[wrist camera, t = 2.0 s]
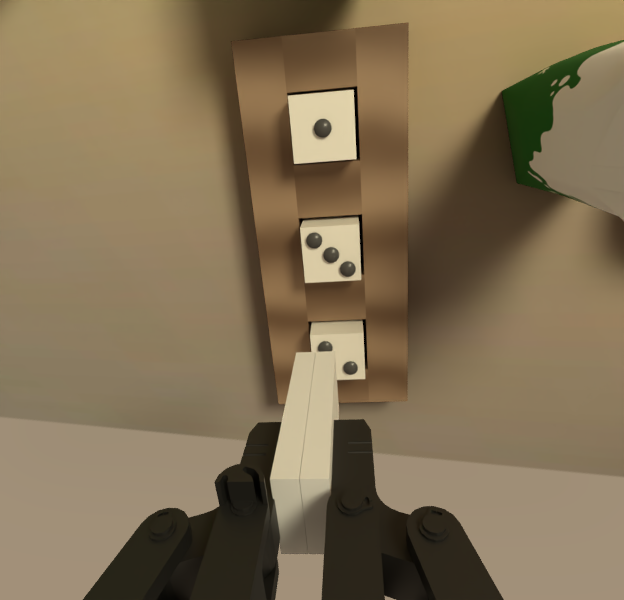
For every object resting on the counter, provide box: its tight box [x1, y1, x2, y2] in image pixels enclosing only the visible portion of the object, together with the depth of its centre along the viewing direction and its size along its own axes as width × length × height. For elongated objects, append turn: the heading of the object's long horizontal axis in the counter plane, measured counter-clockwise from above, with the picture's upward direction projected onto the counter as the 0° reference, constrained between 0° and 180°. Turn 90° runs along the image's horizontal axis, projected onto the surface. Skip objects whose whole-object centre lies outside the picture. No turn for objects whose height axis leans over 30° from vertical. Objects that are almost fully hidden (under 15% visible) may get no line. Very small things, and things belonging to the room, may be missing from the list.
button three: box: [300, 215, 361, 283], centre depth 35 cm, size 4×4×4 cm
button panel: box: [231, 23, 408, 404], centre depth 37 cm, size 30×12×3 cm, turn 5°
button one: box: [288, 90, 356, 164], centre depth 32 cm, size 4×4×4 cm
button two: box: [310, 319, 365, 380], centre depth 39 cm, size 4×4×4 cm
